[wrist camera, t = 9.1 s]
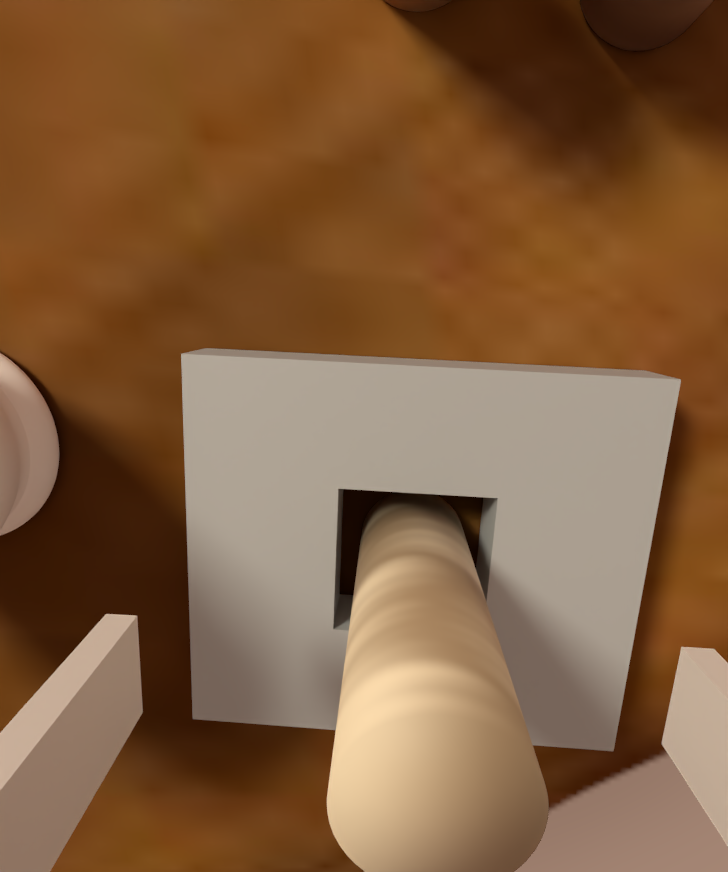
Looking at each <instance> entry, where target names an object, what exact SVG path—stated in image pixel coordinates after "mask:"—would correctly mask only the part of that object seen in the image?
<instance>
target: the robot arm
mask: <svg viewBox="0 0 728 872" xmlns="http://www.w3.org/2000/svg"><path fill="white" fill-rule="evenodd" d="M142 713H143V707H142V689H141V671H140V654H139V636H138V619H137V616H136V615H119V614H105V616H104V617H103V618H102V619H101V620H100V621H99V622H98V623H97V625H96V626H95V627H94V628H93V629H92V630H91V631H90V632H89V634H88V635H87V636H86V637H85V638H84V639H83V640H82V641H81V643H80V644H79V645H78V646H77V647H76V648H75V649H74V650H73V652H72V653H71V654H70V655H69V656H68V657H67V658H66V659H65V661H64V662H63V663H62V664H61V665H60V666H59V667H58V668H57V670H56V671H55V672H54V673H53V674H52V675H51V676H50V677H49V679H48V680H47V681H46V682H45V683H44V684H43V685H42V686H41V688H40V689H39V690H38V691H37V692H36V693H35V694H34V695H33V697H32V698H31V699H30V700H29V701H28V702H27V703H26V704H25V706H24V707H23V708H22V709H21V710H20V711H19V712H18V713H17V715H16V716H15V717H14V718H13V719H12V720H11V721H10V722H9V724H8V725H7V726H6V727H5V728H4V729H3V730H2V731H1V733H0V872H50V871H51V869H52V867H53V865H54V864H55V862H56V860H57V859H58V857H59V855H60V853H61V852H62V850H63V848H64V847H65V845H66V843H67V841H68V840H69V838H70V836H71V835H72V833H73V831H74V829H75V828H76V826H77V824H78V823H79V821H80V819H81V817H82V816H83V814H84V812H85V811H86V809H87V807H88V805H89V804H90V802H91V800H92V799H93V797H94V795H95V793H96V792H97V790H98V788H99V787H100V785H101V783H102V781H103V780H104V778H105V776H106V775H107V773H108V771H109V769H110V768H111V766H112V764H113V763H114V761H115V759H116V757H117V756H118V754H119V752H120V751H121V749H122V747H123V745H124V744H125V742H126V740H127V739H128V737H129V735H130V733H131V732H132V730H133V728H134V727H135V725H136V723H137V721H138V720H139V718H140V716H141V715H142ZM662 745H663V747H664V748H665V750H666V752H667V753H668V755H669V756H670V758H671V759H672V761H673V762H674V764H675V765H676V767H677V769H678V770H679V772H680V773H681V775H682V776H683V778H684V780H685V781H686V783H687V784H688V786H689V787H690V789H691V790H692V792H693V794H694V795H695V797H696V798H697V800H698V801H699V803H700V804H701V806H702V807H703V809H704V811H705V812H706V814H707V815H708V817H709V818H710V820H711V821H712V823H713V825H714V826H715V828H716V829H717V831H718V832H719V834H720V835H721V837H722V839H723V840H724V842H725V843H726V845H727V846H728V663H727V662H726V661H725V660H724V659H723V658H722V657H721V656H720V655H719V654H718V653H717V652H716V651H715V649H708V648H691V647H681V652H680V657H679V662H678V666H677V671H676V676H675V681H674V686H673V691H672V695H671V700H670V705H669V710H668V715H667V719H666V724H665V729H664V734H663V739H662Z"/></svg>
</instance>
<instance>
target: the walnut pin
mask: <svg viewBox="0 0 728 872" xmlns="http://www.w3.org/2000/svg"><path fill="white" fill-rule="evenodd" d="M713 1H714V0H580V4H581V7H582V10H583V13H584V16H585V18H586V20H587V22H588V23H589V25H590V26H591V28H592V29H593V30H594V32H595V33H596V34H597V35H598V36H599V37H601V38H602V39H603V40H604V41H606V42H607V43H609V44H611V45H613V46H615V47H617V48H621V49H624V50H630V51H645V50H651V49H655V48H658V47H661V46H663V45H665V44H667V43H669V42H671V41H673V40H674V39H676V38H677V37H678V36H680V35H681V34H682V33H684V32H685V31H686V30H687V29H688V28H689V27H690V26H691V25H692V23H693V22H694V21H695V20H696V19H697V18H698V17H699V16H700V15H701V14H702V13H703V12H704V11H705V9H706V8H707V7H708V6H709V5H710V4H711V3H712V2H713Z"/></svg>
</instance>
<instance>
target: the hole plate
mask: <svg viewBox="0 0 728 872" xmlns="http://www.w3.org/2000/svg"><path fill="white" fill-rule="evenodd" d="M181 363H182V395H183V427H184V458H185V490H186V522H187V554H188V586H189V618H190V650H191V682H192V714H193V719H197V720H211V721H224V722H237V723H250V724H263V725H276V726H289V727H302V728H315V729H328V730H336V724H337V717H338V709H339V701H340V694H341V686H342V679H343V671H344V663H345V656H346V648H347V640H348V633H349V625H350V618H351V610H352V602H353V595H342V594H340V569H341V544H342V519H343V494H344V489H352V490H369V491H385V492H402V493H419V494H435V495H452V496H468V497H483V505H482V514H481V524H480V534H479V544H478V553H477V563H476V571H477V575H478V578H479V581H480V584H481V587H482V590H483V593H484V596H485V599H486V602H487V606H488V609H489V612H490V615H491V618H492V621H493V624H494V627H495V630H496V633H497V637H498V640H499V643H500V646H501V649H502V652H503V655H504V658H505V661H506V664H507V668H508V671H509V674H510V677H511V680H512V683H513V686H514V689H515V692H516V695H517V698H518V702H519V705H520V708H521V711H522V714H523V717H524V720H525V723H526V726H527V729H528V733H529V736H530V739H531V742H532V745H537V746H550V747H563V748H577V749H590V750H603V751H614V746H615V740H616V735H617V729H618V724H619V718H620V713H621V707H622V702H623V696H624V691H625V685H626V680H627V674H628V669H629V663H630V658H631V652H632V647H633V641H634V636H635V630H636V625H637V619H638V614H639V608H640V603H641V597H642V592H643V586H644V581H645V575H646V570H647V564H648V559H649V554H650V548H651V543H652V537H653V532H654V526H655V521H656V515H657V510H658V504H659V499H660V493H661V488H662V482H663V477H664V471H665V466H666V460H667V455H668V449H669V444H670V438H671V433H672V427H673V422H674V416H675V411H676V405H677V400H678V394H679V389H680V383H681V379H677V378H673V377H669V376H665V375H661V374H657V373H653V372H649V371H643V370H623V369H604V368H584V367H565V366H545V365H526V364H506V363H486V362H467V361H447V360H428V359H408V358H389V357H369V356H349V355H330V354H310V353H291V352H271V351H251V350H232V349H212V348H205V349H201V350H196V351H192V352H187V353H183V354H181Z"/></svg>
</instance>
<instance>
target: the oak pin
mask: <svg viewBox="0 0 728 872" xmlns="http://www.w3.org/2000/svg"><path fill="white" fill-rule="evenodd" d="M384 1H385V2H387V3H388V4H390V5H392V6H394V7H396V8H398V9H401V10H405V11H411V12H425V11H430V10H434V9H436V8H439V7H441V6H443V5H445V4H447V3H449V2H450V1H452V0H384Z"/></svg>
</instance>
